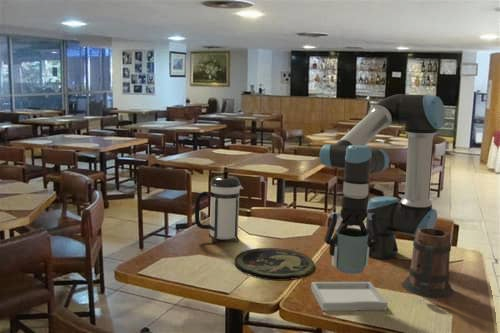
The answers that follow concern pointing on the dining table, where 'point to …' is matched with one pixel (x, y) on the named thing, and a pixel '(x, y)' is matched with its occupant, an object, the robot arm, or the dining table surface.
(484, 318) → the dining table surface
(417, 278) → the tankard
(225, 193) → the coffee press
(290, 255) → the decorative plate
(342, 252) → the teal cup
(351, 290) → the tray
